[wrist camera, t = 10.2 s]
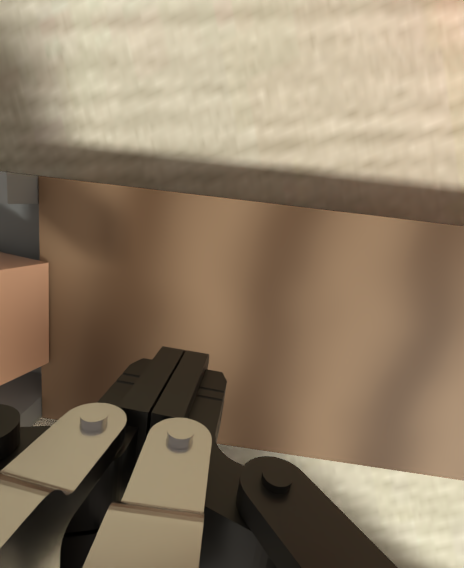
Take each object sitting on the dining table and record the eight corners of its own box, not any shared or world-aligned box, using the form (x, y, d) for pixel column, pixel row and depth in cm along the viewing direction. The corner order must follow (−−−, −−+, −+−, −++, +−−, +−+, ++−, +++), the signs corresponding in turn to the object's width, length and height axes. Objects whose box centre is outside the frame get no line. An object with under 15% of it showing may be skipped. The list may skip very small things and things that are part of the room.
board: (537, 235, 17) (585, 240, 14) (468, 450, 19) (498, 485, 17) (68, 179, 18) (38, 175, 15) (67, 391, 20) (42, 417, 18)
